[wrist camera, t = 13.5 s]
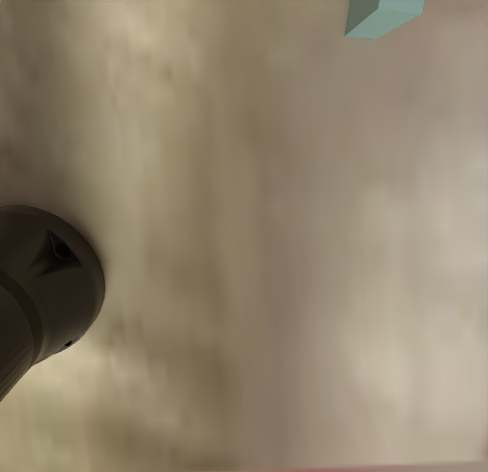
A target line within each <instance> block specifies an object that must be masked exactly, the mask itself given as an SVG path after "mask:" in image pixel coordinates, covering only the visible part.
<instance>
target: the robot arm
mask: <svg viewBox="0 0 488 472" xmlns="http://www.w3.org/2000/svg"><path fill="white" fill-rule="evenodd" d="M103 299H104V278H103V273H102V269H101V266H100V264H99V261H98V259H97V257H96V255H95V253H94V251H93V250H92V248H91V247H90V245H89V244H88V242H87V241H86V240H85V239H84V238H83V237H82V235H81V234H80V233H79V232H78V231H76V230H75V229H74V228H73V227H72V226H71V225H69V224H68V223H66V222H65V221H63V220H62V219H60V218H58V217H57V216H55V215H53V214H50V213H48V212H46V211H43V210H40V209H36V208H32V207H26V206H6V207H1V208H0V402H1V401H2V399H3V398H4V397H5V396H6V395H7V394H8V393H9V391H10V390H11V389H12V388H13V387H14V386H15V384H16V383H17V382H18V381H19V380H20V379H21V378H22V376H23V375H24V374H25V373H26V372H27V371H28V370H29V369H30V368H31V366H33V365H35V364H37V363H39V362H41V361H43V360H45V359H47V358H48V357H50V356H51V355H53V354H56V353H59V352H61V351H63V350H65V349H67V348H68V347H70V346H72V345H73V344H74V343H76V342H77V341H78V340H79V339H80V338H81V337H82V336H83V335H84V334H85V333H86V331H87V330H88V329H89V328H90V326H91V325H92V324H93V322H94V321H95V320H96V318H97V316H98V314H99V312H100V310H101V307H102V304H103Z"/></svg>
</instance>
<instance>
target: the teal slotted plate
mask: <svg viewBox="0 0 488 472" xmlns="http://www.w3.org/2000/svg"><path fill="white" fill-rule="evenodd" d="M424 2H425V0H351V2H350V8H349V14H348V20H347V25H346V31H345V36H348V37H356V38H365V39H374V40H375V39H377V38H379V37H380V36H382V35H384V34H386V33H388V32H389V31H391V30H393V29H395V28H397V27H399V26H400V25H402V24H404V23H406V22H408V21H409V20H411V19H413V18H415V17H417V16H419V15H420V14H422V11H423V7H424Z"/></svg>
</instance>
